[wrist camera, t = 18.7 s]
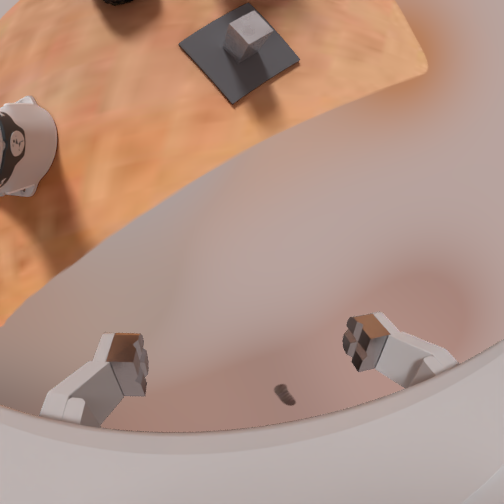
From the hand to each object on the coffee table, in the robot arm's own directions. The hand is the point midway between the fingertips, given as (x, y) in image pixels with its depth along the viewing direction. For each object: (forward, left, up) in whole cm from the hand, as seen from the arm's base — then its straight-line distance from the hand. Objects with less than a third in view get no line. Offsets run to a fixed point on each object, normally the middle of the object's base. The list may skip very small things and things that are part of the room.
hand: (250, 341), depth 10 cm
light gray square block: (+4, +23, -36) cm, 43 cm away
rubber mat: (+4, +23, -37) cm, 44 cm away
